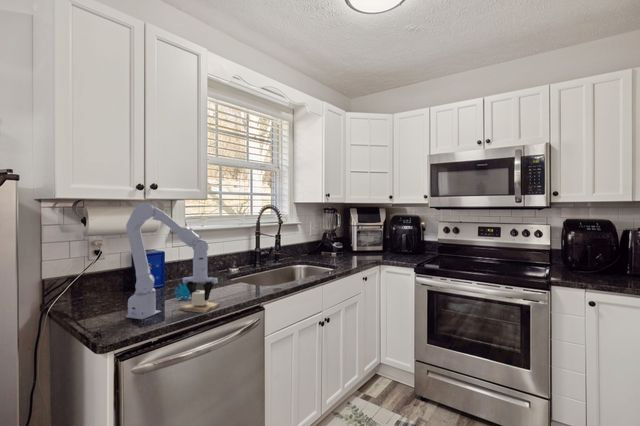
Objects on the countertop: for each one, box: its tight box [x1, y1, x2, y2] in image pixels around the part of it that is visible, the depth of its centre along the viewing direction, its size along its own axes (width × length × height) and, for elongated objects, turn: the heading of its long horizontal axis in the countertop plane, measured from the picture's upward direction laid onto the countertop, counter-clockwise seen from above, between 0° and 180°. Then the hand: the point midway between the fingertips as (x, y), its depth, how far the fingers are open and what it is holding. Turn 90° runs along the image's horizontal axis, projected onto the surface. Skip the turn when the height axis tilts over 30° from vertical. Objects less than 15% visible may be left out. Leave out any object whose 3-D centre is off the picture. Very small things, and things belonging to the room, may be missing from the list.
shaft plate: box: [179, 301, 221, 314], centre depth 138 cm, size 10×12×4 cm
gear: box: [173, 282, 198, 301], centre depth 154 cm, size 11×6×10 cm
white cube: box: [191, 289, 209, 306], centre depth 138 cm, size 5×5×5 cm
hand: (200, 299), depth 138 cm, fingers open, 5 cm apart
